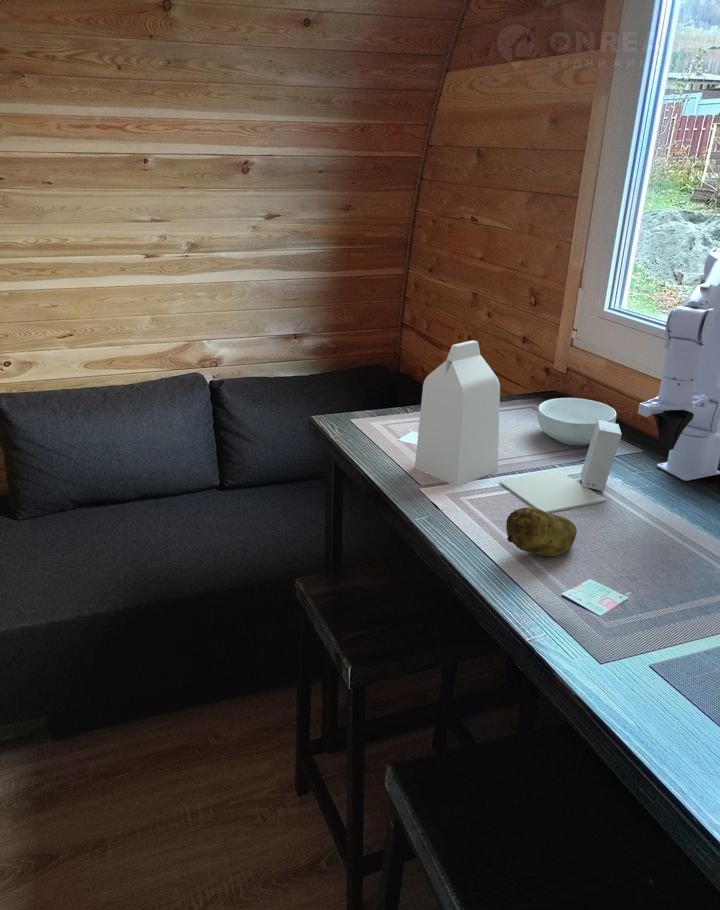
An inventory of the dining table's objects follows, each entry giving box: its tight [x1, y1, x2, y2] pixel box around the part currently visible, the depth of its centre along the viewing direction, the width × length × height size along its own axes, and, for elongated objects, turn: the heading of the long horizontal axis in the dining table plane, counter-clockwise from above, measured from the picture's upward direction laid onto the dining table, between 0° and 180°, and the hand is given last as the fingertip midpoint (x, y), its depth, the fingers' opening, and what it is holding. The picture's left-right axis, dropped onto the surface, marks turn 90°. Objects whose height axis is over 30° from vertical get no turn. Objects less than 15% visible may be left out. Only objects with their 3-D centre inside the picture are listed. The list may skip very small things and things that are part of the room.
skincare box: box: [580, 420, 623, 492], centre depth 148 cm, size 6×4×12 cm
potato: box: [505, 506, 578, 557], centre depth 124 cm, size 8×13×8 cm, turn 99°
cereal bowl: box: [537, 397, 617, 446], centre depth 171 cm, size 17×17×7 cm
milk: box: [414, 340, 501, 488], centre depth 151 cm, size 12×12×26 cm
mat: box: [499, 470, 607, 514], centre depth 147 cm, size 14×14×1 cm
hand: (666, 448), depth 140 cm, fingers closed
